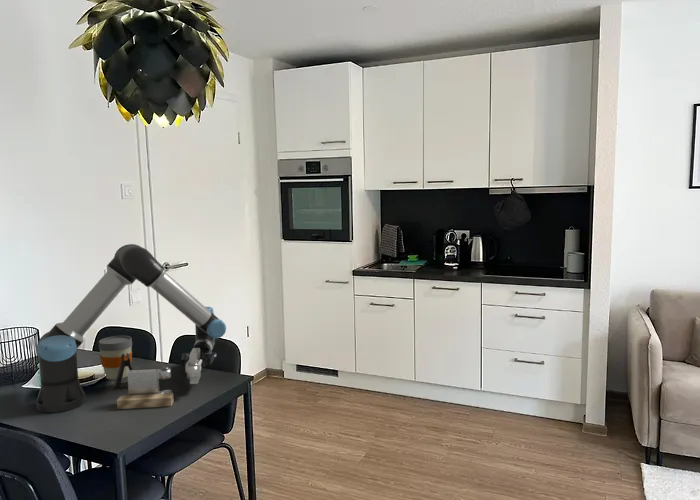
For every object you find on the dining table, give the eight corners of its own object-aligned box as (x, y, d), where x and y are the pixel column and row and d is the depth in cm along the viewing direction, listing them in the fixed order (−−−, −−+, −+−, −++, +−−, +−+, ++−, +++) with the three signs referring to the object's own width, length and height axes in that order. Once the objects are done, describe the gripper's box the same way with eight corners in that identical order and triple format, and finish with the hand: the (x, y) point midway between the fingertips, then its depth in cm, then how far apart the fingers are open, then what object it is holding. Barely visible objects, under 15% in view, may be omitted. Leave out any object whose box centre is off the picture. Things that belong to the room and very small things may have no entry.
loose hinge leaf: (186, 388, 194) (185, 358, 193) (192, 375, 208) (191, 348, 206) (197, 388, 195) (196, 358, 194) (202, 375, 208) (201, 347, 207)
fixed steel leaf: (128, 403, 190) (126, 371, 189) (131, 399, 194) (129, 367, 193) (170, 401, 192) (169, 369, 191) (173, 396, 196) (171, 365, 195)
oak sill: (117, 409, 185) (116, 400, 185) (121, 404, 190) (120, 395, 189) (171, 406, 188) (171, 397, 187) (173, 401, 192) (173, 393, 192)
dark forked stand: (139, 381, 213) (137, 351, 211) (140, 386, 207) (138, 355, 206) (114, 384, 209) (112, 354, 208) (114, 389, 204) (112, 358, 202)
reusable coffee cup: (96, 375, 220) (93, 339, 218) (127, 368, 228) (125, 333, 226) (106, 383, 210) (104, 346, 209) (138, 375, 219) (136, 339, 217)
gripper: (222, 358, 222) (216, 377, 198) (180, 359, 219) (169, 379, 196) (222, 340, 221) (215, 357, 198) (180, 341, 219) (168, 359, 195)
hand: (192, 368), depth 197 cm, fingers closed on loose hinge leaf, 4 cm apart
